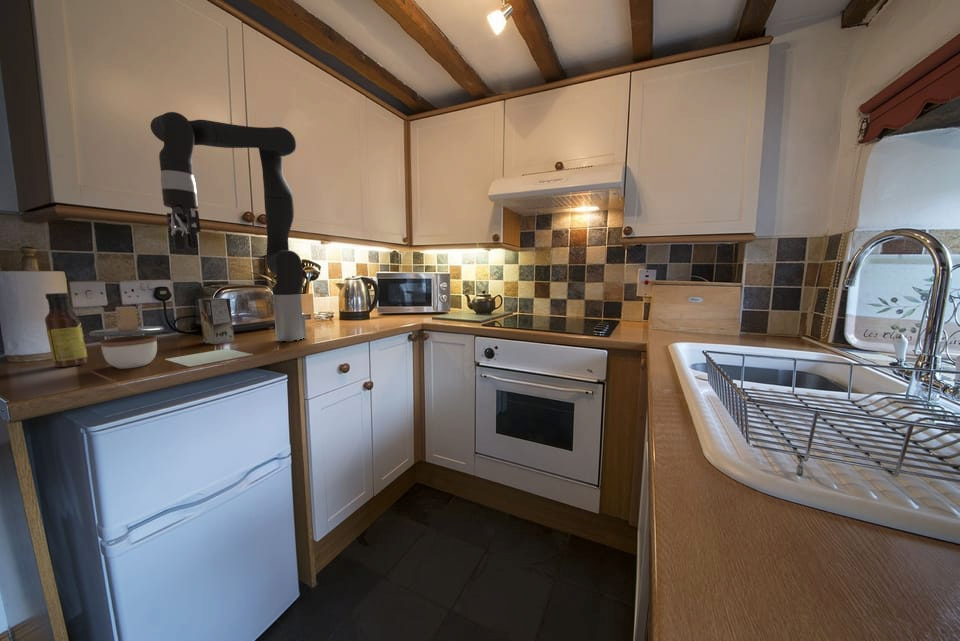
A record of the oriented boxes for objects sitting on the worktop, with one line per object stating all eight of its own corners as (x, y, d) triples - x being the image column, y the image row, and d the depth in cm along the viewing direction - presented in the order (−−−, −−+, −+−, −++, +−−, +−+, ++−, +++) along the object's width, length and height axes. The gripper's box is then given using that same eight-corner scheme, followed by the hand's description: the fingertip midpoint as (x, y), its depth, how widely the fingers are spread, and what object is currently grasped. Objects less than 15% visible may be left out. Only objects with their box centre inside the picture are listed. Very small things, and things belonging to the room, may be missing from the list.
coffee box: (235, 341, 128) (231, 298, 126) (215, 345, 122) (210, 299, 120) (221, 339, 132) (217, 297, 130) (202, 342, 127) (197, 298, 124)
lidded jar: (95, 369, 91) (89, 334, 90) (146, 360, 101) (142, 328, 100) (117, 374, 87) (112, 337, 86) (168, 363, 97) (164, 330, 96)
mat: (226, 349, 114) (226, 348, 114) (253, 355, 107) (253, 354, 106) (164, 360, 101) (164, 359, 101) (189, 368, 93) (189, 366, 93)
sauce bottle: (95, 362, 99) (84, 292, 96) (67, 368, 92) (54, 293, 90) (74, 361, 99) (63, 292, 97) (45, 367, 93) (32, 293, 90)
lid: (153, 327, 103) (151, 304, 102) (172, 331, 95) (169, 306, 95) (82, 333, 91) (79, 307, 90) (98, 338, 83) (94, 309, 83)
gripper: (206, 190, 98) (213, 248, 101) (184, 195, 105) (190, 250, 108) (173, 184, 92) (180, 247, 94) (152, 190, 99) (159, 248, 101)
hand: (186, 248), depth 101 cm, fingers open, 8 cm apart
